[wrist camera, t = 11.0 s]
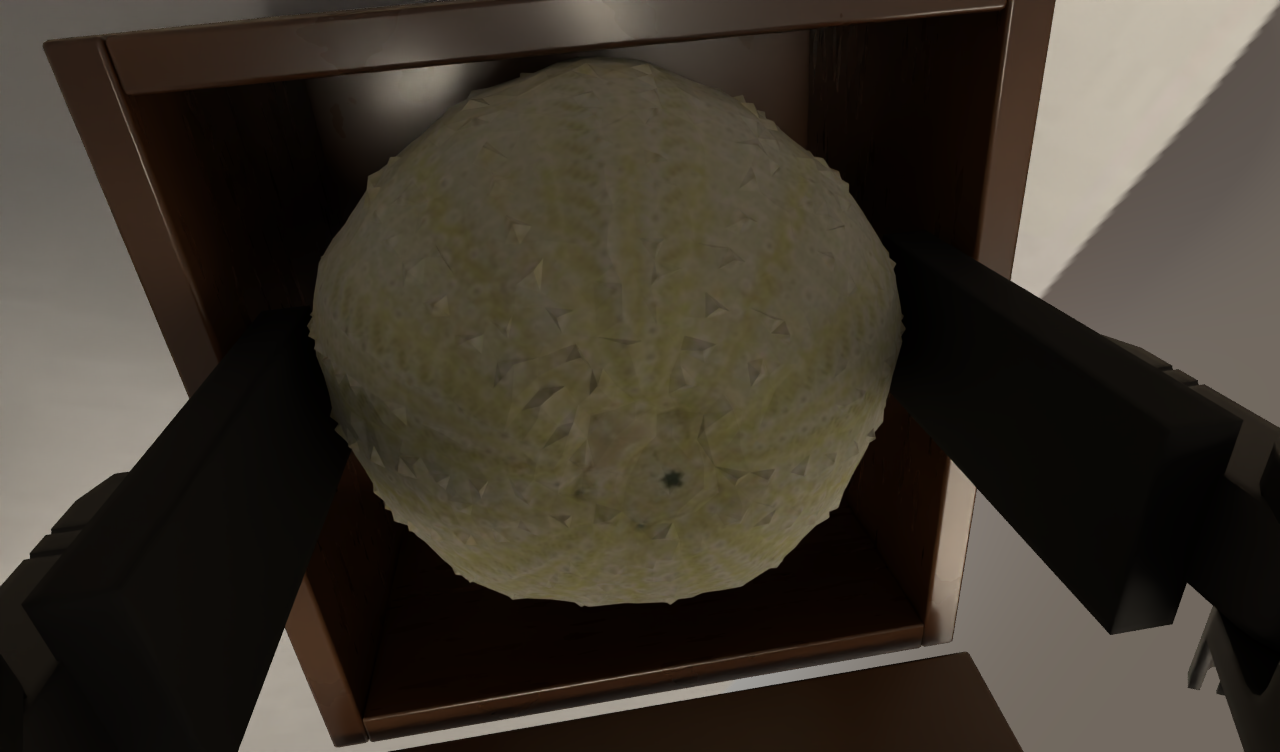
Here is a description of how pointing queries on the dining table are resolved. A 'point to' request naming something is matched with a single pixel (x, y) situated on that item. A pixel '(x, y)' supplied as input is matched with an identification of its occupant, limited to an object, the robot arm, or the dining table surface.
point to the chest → (401, 112)
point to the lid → (792, 718)
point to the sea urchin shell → (607, 336)
